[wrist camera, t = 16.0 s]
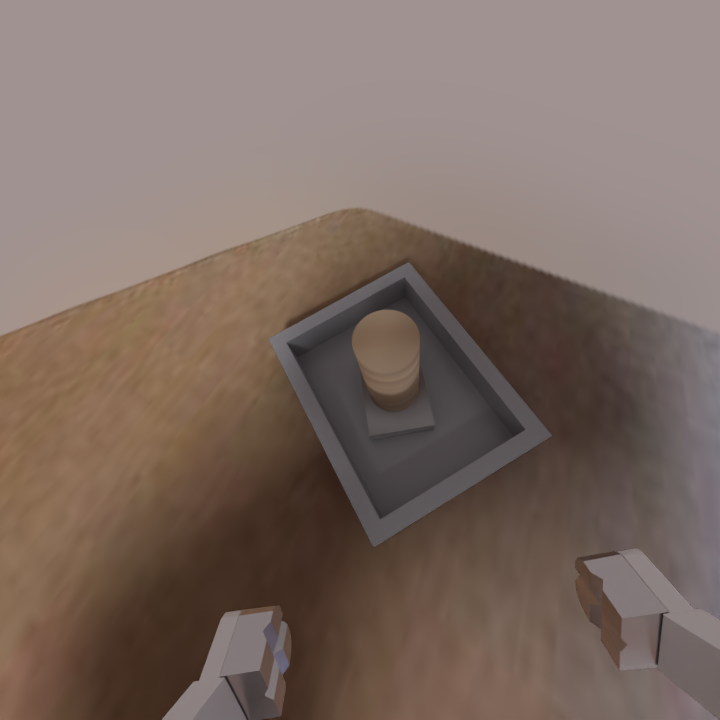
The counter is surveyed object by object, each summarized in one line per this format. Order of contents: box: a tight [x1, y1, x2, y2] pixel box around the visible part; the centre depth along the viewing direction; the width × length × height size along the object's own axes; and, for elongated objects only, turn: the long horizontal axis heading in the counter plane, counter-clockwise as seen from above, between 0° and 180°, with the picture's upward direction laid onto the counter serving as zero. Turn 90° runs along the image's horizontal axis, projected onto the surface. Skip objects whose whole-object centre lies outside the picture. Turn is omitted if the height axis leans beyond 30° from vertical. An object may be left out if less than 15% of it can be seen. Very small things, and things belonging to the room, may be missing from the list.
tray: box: [269, 262, 552, 547], centre depth 29 cm, size 18×14×4 cm
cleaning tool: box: [352, 310, 435, 440], centre depth 26 cm, size 7×5×10 cm
